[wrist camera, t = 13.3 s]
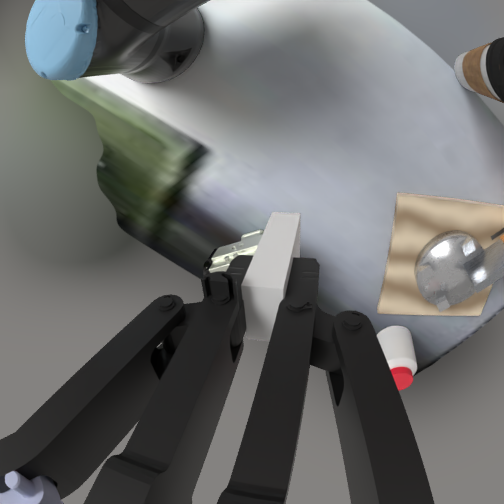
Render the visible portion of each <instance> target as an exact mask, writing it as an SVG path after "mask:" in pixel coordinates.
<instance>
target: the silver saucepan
mask: <svg viewBox="0 0 504 504" xmlns="http://www.w3.org/2000/svg"><path fill="white" fill-rule="evenodd" d="M414 274H415V279H416V282H417V285H418V288H419V291H420V293H421V295H422V296H423V297H424V299H425V300H427V301H428V302H430V303H432V304H434V305H437V307H438V309H439V311H440V312H442V311H443V310H445V309H447V308H449V307H450V306H451V305H455V304H458V303H460V302H462V301H464V300H466V299H468V298H469V297H470V296H472V295H473V294H474V293H475V292H477V293H478V292H480V291H482V290H483V289H485V288H486V287H488V286H490V285H491V284H493V283H494V282H496V281H497V280H499V279H501V278H502V277H504V235H502V236H501V237H500V239H499V240H498V241H496V242H495V243H493V244H492V245H490V246H489V247H487V248H486V249H483V248H482V246H481V245H480V244H479V242H478V241H477V240H476V238H475V237H474V236H472V235H471V234H469V233H467V232H464V231H460V230H452V231H447V232H444V233H441V234H439V235H437V236H435V237H434V238H433V239H431V240H430V241H429V242H428V243H427V244H426V245H425V246H424V247H423V248H422V250H421V251H420V253H419V255H418V257H417V259H416V263H415V268H414Z"/></svg>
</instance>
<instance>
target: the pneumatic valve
mask: <svg viewBox="0 0 504 504" xmlns="http://www.w3.org/2000/svg"><path fill="white" fill-rule="evenodd" d="M263 233H264V230H261V229H259V230H256V231H253V232H250V233H246V234H243V236H242V237H241V241H240V242H237V243H233V244H230V245H227V246H223V247H220V248H217V249H214V251H213V252H212V254H211V255H210V257H209V259H208V260H207V261H206V262H205V263H204V267H203V272H204V276H205V275H207V274H209V273H212V272H216V271H225V272H226V270H227V268H228V266H229V264H230V262H231V261H232V260H233V259H234V258H235V257H237V256H238V255H253V256H254V254H255V251H256V249H257V247H258V244H259V242H260V240H261V237H262V235H263Z"/></svg>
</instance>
